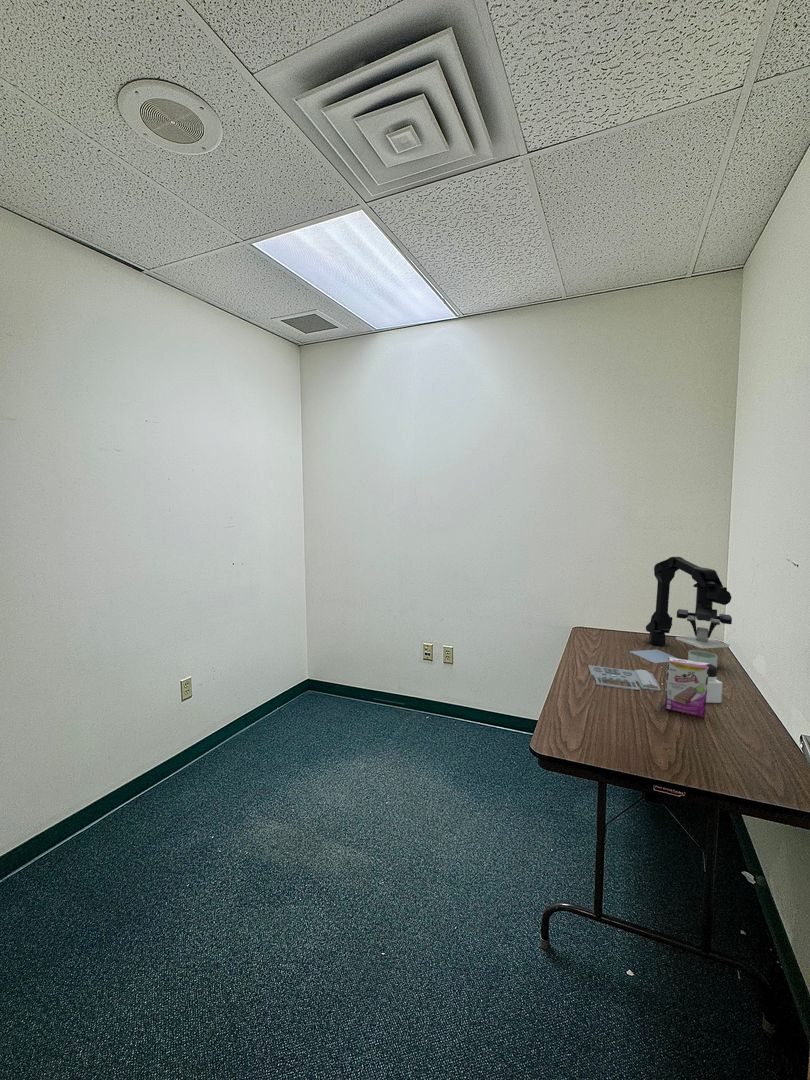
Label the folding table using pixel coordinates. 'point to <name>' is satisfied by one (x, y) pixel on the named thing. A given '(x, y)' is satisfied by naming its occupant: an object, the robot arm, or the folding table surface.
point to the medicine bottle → (713, 686)
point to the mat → (653, 655)
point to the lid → (702, 640)
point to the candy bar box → (686, 686)
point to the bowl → (702, 657)
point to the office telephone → (624, 678)
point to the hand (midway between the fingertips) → (702, 636)
